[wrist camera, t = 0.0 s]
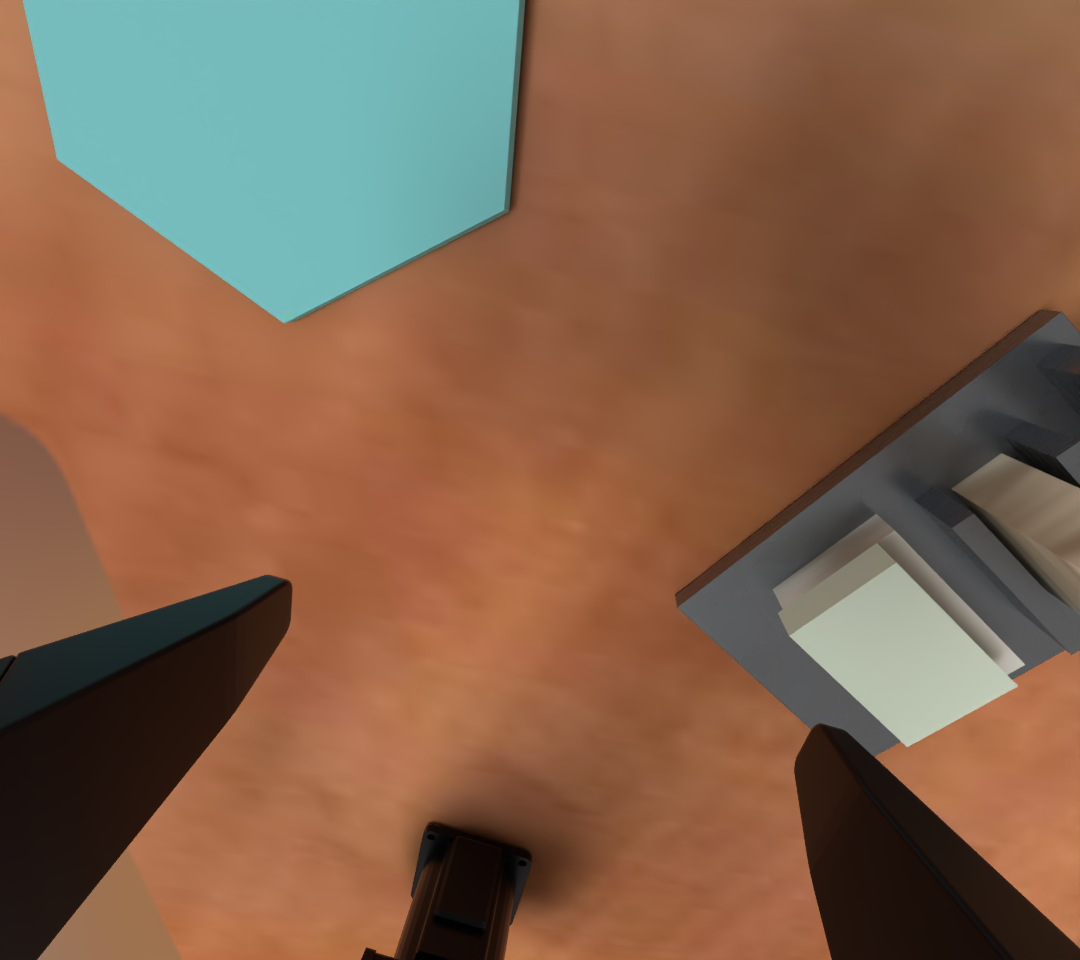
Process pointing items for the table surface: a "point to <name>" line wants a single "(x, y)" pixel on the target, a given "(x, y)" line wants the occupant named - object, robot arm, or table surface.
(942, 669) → the offcut upper
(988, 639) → the offcut lower
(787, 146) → the table surface
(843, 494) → the offcut rack
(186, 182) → the plaque
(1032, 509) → the birch block
